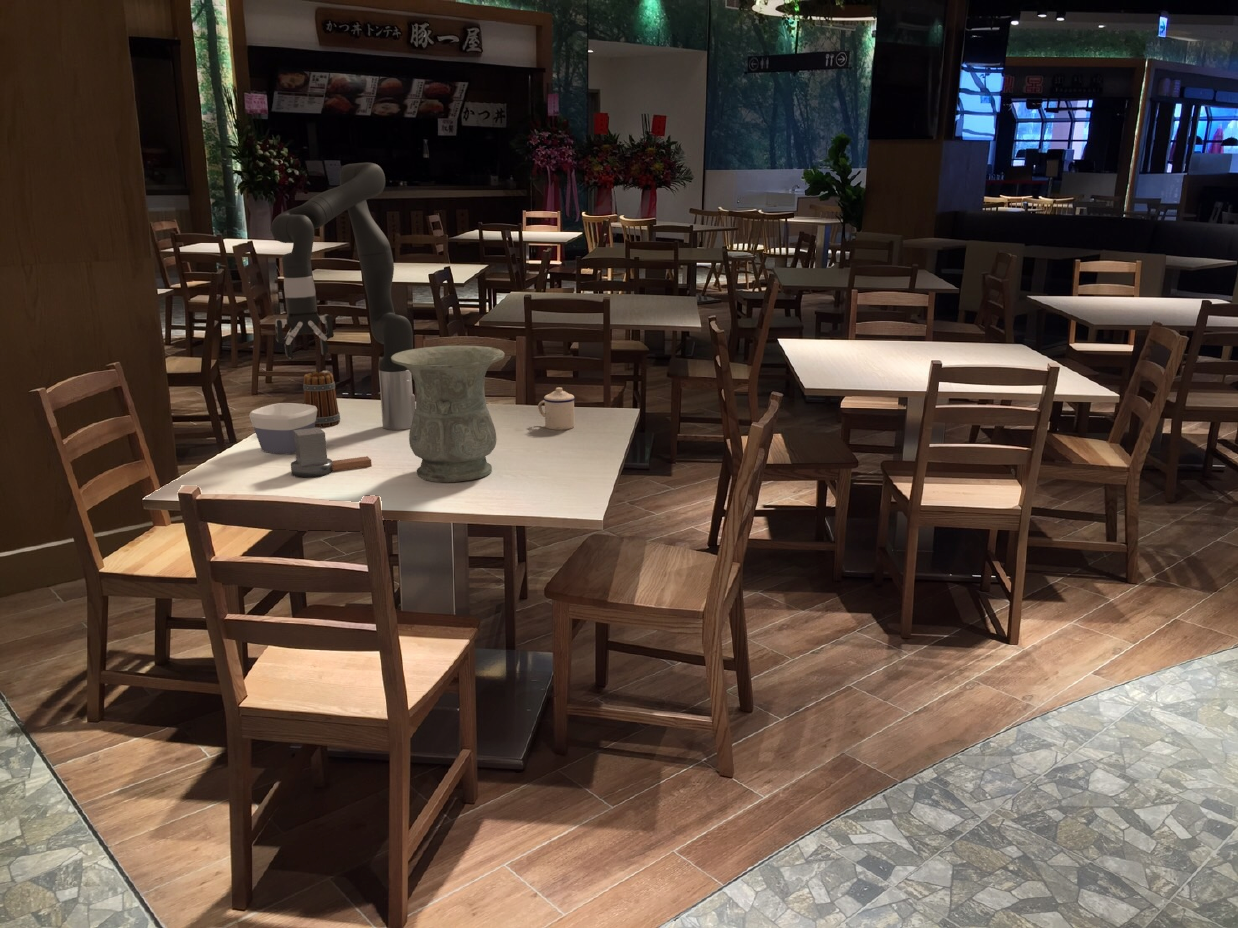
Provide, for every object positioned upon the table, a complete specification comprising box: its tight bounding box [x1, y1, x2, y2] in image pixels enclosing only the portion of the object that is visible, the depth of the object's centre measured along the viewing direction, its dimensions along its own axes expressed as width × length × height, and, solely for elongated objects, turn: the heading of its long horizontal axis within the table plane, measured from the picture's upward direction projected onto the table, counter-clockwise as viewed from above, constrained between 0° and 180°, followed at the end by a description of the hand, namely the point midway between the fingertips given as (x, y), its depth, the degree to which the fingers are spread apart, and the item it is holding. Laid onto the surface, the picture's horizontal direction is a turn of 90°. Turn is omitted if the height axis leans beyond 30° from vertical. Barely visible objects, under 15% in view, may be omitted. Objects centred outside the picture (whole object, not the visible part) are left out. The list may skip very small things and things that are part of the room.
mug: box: [302, 370, 341, 429], centre depth 308 cm, size 16×11×15 cm
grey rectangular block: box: [293, 428, 328, 467], centre depth 255 cm, size 6×6×8 cm
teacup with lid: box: [537, 387, 576, 431], centre depth 302 cm, size 12×9×12 cm
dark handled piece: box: [290, 455, 372, 479], centre depth 258 cm, size 20×10×8 cm, turn 118°
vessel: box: [391, 345, 505, 483], centre depth 252 cm, size 27×27×30 cm
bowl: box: [249, 402, 317, 455], centre depth 278 cm, size 15×15×11 cm
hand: (307, 356), depth 268 cm, fingers open, 8 cm apart
